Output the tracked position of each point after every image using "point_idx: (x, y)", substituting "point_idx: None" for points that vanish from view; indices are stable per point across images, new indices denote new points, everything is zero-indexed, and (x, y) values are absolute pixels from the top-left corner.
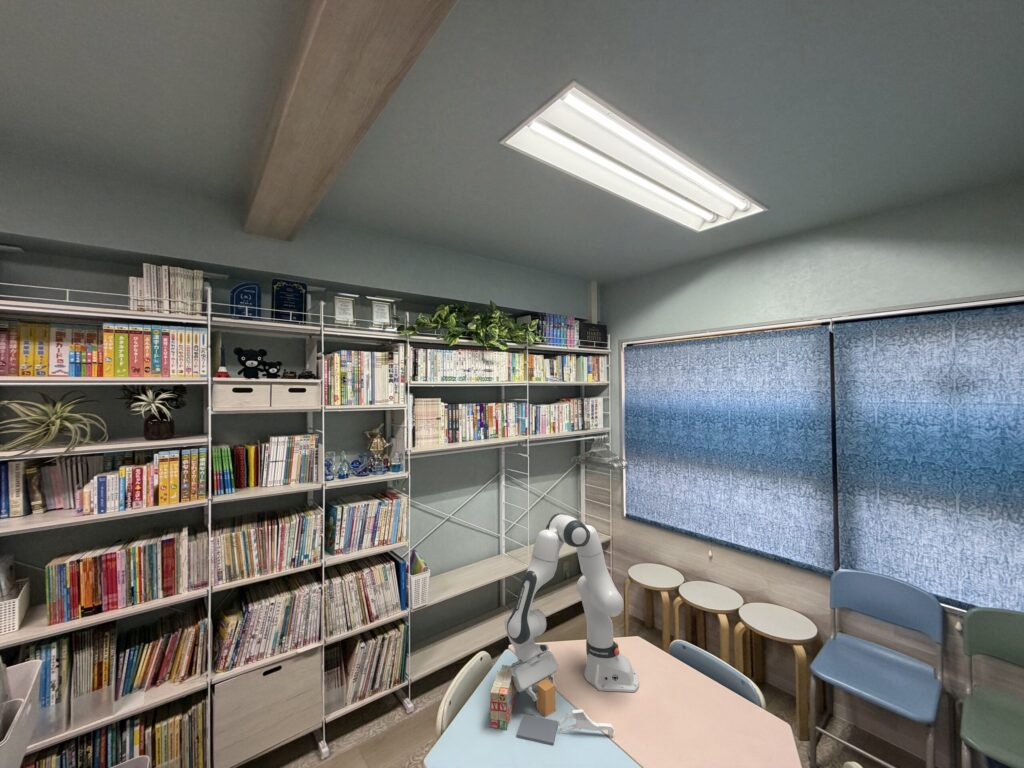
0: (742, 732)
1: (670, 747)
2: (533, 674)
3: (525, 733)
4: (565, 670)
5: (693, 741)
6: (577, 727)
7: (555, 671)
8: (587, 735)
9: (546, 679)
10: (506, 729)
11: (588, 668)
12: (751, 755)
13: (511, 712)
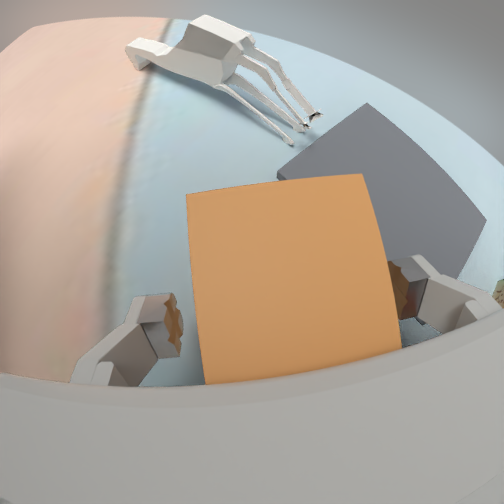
0: (6, 58)
1: (86, 33)
2: (482, 419)
3: (457, 202)
4: None
5: (51, 43)
6: (235, 75)
7: (31, 378)
8: None
9: (211, 365)
10: (500, 281)
11: None
12: (42, 28)
13: None
